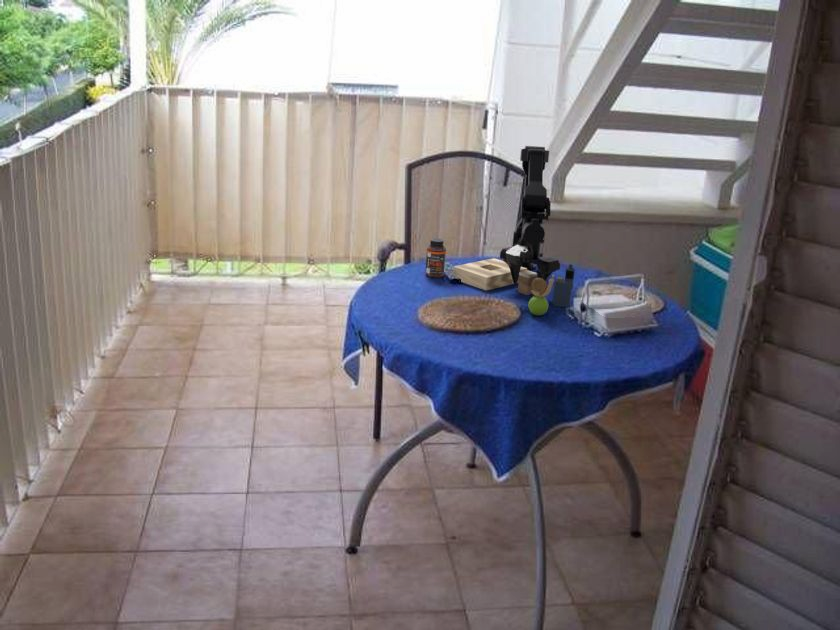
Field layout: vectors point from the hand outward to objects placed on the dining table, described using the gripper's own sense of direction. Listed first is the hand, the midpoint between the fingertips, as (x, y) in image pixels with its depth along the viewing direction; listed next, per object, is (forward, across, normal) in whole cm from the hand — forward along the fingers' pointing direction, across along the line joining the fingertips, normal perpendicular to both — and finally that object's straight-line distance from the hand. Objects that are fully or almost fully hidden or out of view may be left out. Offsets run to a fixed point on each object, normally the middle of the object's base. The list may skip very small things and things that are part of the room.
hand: (526, 287), depth 244 cm
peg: (+2, 0, 0) cm, 2 cm away
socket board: (+2, -15, 0) cm, 15 cm away
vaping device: (+2, +14, -1) cm, 14 cm away
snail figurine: (+2, +16, -13) cm, 21 cm away
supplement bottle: (+2, -28, -11) cm, 30 cm away
